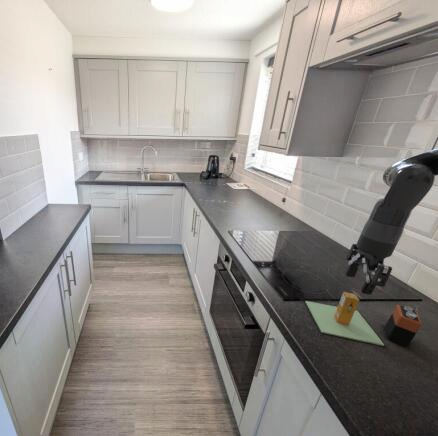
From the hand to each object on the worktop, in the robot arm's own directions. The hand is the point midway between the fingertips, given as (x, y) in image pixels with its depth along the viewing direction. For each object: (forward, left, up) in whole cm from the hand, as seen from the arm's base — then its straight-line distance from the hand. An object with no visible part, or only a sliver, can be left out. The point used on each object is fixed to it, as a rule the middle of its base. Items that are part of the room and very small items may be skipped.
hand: (357, 284), depth 69 cm
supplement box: (0, 0, -15) cm, 15 cm away
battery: (-14, +2, -15) cm, 21 cm away
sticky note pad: (0, 0, -15) cm, 15 cm away
